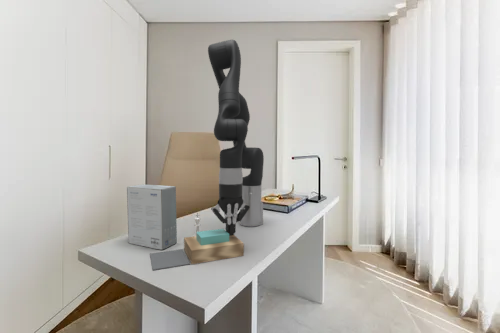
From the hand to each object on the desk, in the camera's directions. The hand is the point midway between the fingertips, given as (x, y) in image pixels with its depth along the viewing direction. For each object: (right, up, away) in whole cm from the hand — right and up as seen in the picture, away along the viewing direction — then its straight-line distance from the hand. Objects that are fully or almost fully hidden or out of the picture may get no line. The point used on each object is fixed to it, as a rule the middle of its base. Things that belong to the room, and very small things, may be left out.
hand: (230, 234), depth 88 cm
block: (-6, -1, -2) cm, 6 cm away
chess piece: (-12, -5, +9) cm, 16 cm away
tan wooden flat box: (-5, -5, -2) cm, 8 cm away
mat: (-18, -6, -7) cm, 20 cm away
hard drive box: (-27, -5, +6) cm, 28 cm away
